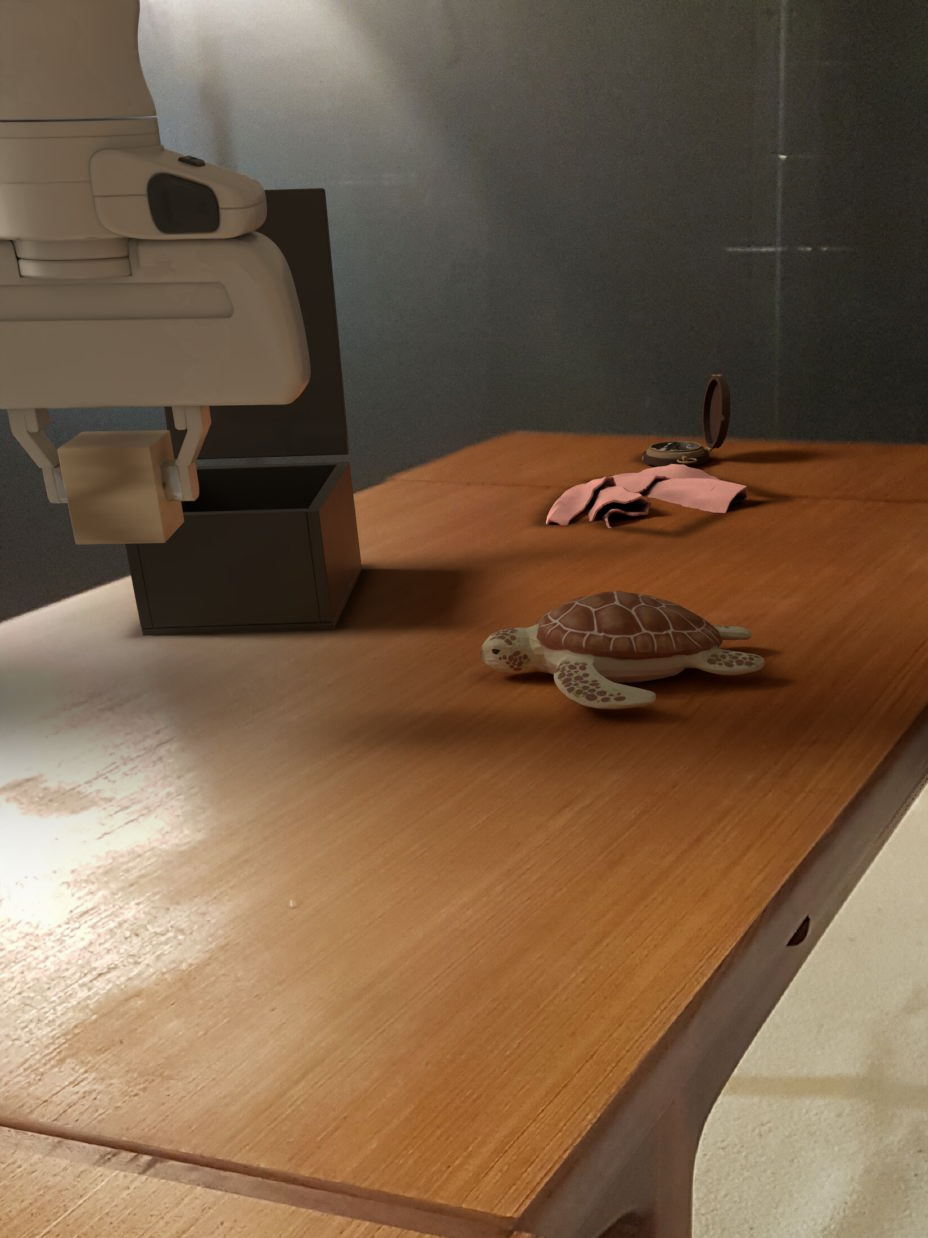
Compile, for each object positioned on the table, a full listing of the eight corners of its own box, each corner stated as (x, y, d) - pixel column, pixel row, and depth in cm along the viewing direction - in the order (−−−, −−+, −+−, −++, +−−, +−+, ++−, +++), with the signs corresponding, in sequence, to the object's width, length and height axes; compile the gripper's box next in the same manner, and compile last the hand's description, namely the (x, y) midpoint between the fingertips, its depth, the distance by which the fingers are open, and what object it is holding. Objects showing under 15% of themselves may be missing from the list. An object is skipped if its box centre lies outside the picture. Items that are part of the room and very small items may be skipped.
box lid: (323, 187, 109) (325, 189, 109) (135, 193, 109) (138, 195, 109) (348, 454, 115) (349, 454, 116) (170, 460, 115) (173, 460, 116)
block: (75, 544, 83) (56, 448, 80) (98, 523, 87) (81, 431, 84) (165, 543, 83) (149, 447, 81) (184, 522, 87) (169, 429, 84)
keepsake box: (334, 634, 107) (318, 510, 103) (143, 640, 107) (119, 516, 103) (362, 573, 120) (349, 461, 116) (192, 579, 120) (172, 467, 116)
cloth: (697, 472, 147) (697, 443, 146) (822, 519, 131) (823, 487, 129) (487, 498, 140) (485, 468, 139) (590, 552, 123) (589, 519, 122)
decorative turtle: (483, 640, 105) (476, 560, 102) (738, 628, 106) (739, 549, 103) (481, 735, 90) (473, 644, 87) (779, 720, 90) (781, 630, 88)
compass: (634, 458, 153) (632, 374, 149) (715, 452, 154) (715, 368, 150) (655, 475, 146) (654, 387, 142) (740, 469, 148) (740, 381, 144)
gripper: (-177, 199, 74) (-98, 517, 81) (274, 192, 74) (311, 510, 82) (-125, 190, 79) (-55, 490, 87) (296, 184, 79) (329, 483, 87)
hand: (126, 499), depth 84 cm, fingers closed on block, 4 cm apart
